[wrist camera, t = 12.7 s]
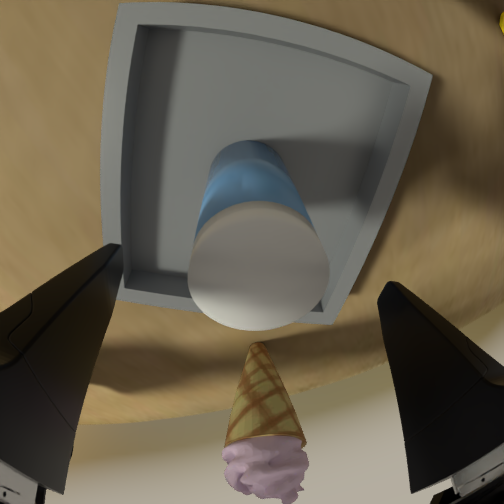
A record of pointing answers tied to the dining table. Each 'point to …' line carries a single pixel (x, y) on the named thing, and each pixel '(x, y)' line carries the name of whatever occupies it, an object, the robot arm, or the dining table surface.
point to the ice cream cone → (264, 434)
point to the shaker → (255, 243)
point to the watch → (502, 22)
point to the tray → (246, 134)
